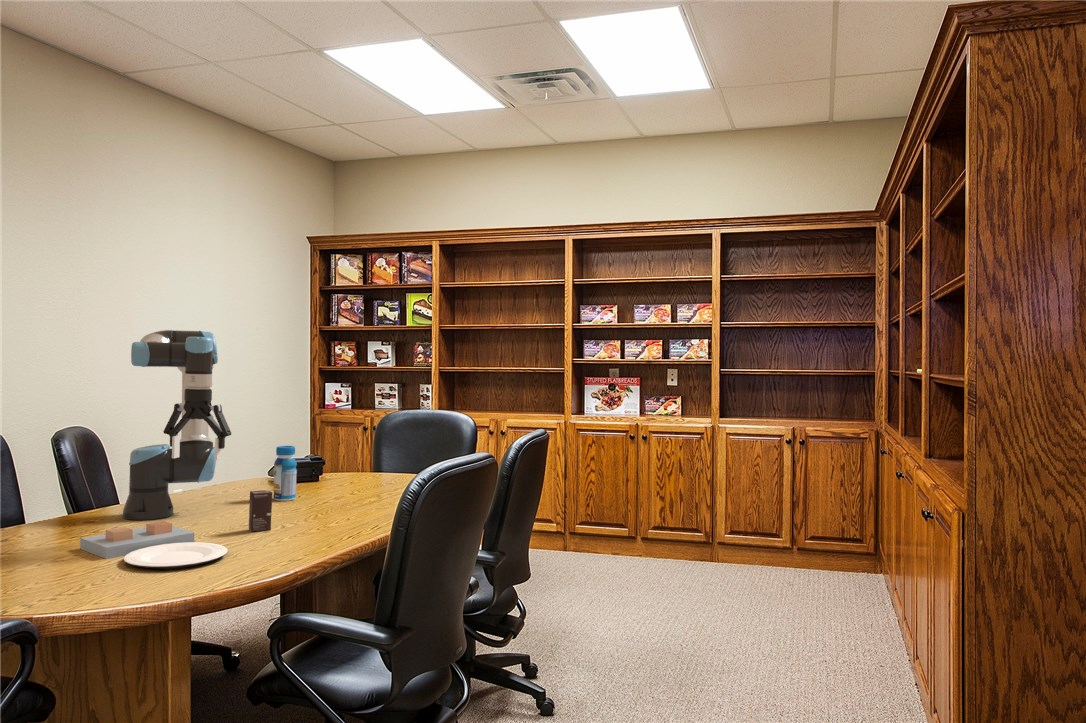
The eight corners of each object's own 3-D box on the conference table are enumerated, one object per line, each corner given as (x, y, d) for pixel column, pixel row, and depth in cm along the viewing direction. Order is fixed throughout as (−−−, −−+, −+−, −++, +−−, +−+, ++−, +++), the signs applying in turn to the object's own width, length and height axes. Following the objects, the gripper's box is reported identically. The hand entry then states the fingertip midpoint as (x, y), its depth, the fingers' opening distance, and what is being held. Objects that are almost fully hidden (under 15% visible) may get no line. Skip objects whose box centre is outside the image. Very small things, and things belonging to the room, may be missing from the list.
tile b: (105, 538, 213) (105, 529, 213) (124, 535, 217) (124, 526, 217) (113, 541, 210) (113, 532, 210) (132, 538, 214) (132, 529, 214)
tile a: (146, 532, 222) (146, 523, 222) (163, 529, 226) (163, 520, 226) (154, 535, 218) (154, 526, 218) (172, 532, 222) (172, 523, 222)
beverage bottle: (292, 501, 288) (293, 448, 288) (269, 501, 288) (270, 447, 288) (299, 497, 297) (300, 445, 297) (277, 497, 297) (278, 445, 297)
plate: (159, 579, 188) (159, 571, 188) (103, 562, 201) (103, 555, 201) (247, 557, 209) (247, 550, 209) (191, 544, 222) (191, 537, 222)
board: (80, 548, 213) (80, 537, 213) (166, 534, 232) (166, 524, 232) (106, 558, 204) (106, 547, 204) (194, 542, 223) (194, 532, 223)
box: (251, 532, 237) (252, 493, 237) (248, 529, 241) (249, 491, 241) (272, 530, 241) (272, 491, 241) (268, 527, 244) (269, 489, 244)
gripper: (151, 387, 230) (150, 458, 230) (231, 390, 227) (229, 462, 227) (166, 386, 237) (165, 455, 237) (244, 388, 234) (242, 458, 235)
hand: (196, 458), depth 232 cm, fingers open, 13 cm apart
